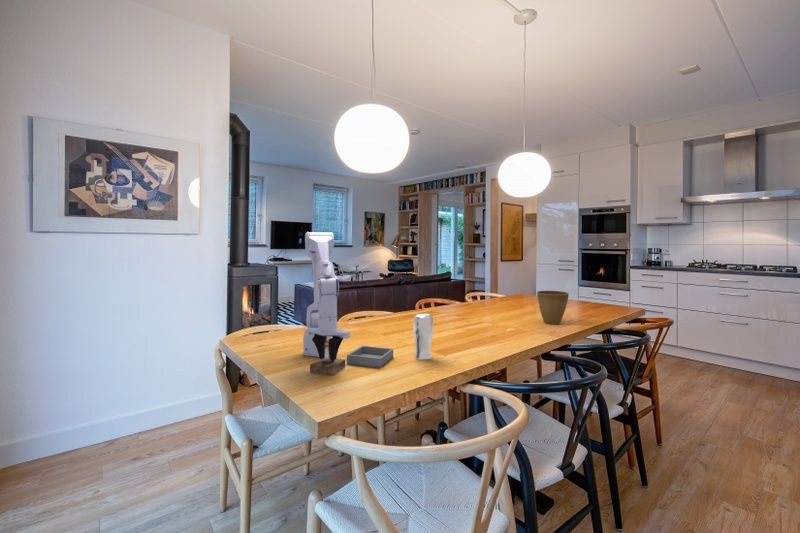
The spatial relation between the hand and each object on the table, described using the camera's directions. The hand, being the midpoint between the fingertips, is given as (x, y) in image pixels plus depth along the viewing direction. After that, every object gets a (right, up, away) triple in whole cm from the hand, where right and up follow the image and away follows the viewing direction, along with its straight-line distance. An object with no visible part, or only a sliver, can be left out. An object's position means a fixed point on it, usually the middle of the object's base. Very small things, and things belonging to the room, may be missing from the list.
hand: (328, 359), depth 114 cm
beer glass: (+31, -3, +13) cm, 33 cm away
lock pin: (0, -3, 0) cm, 3 cm away
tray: (+13, -3, +10) cm, 16 cm away
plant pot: (+101, 0, +71) cm, 123 cm away
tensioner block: (0, -3, 0) cm, 3 cm away
